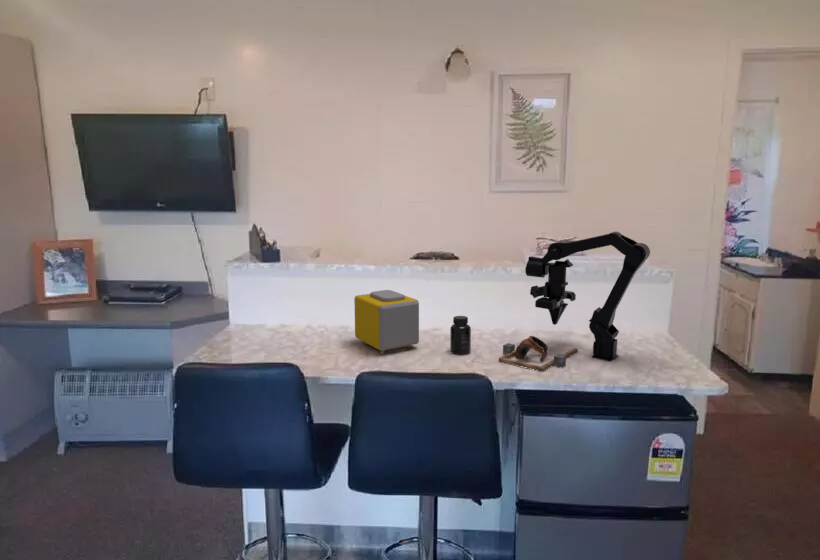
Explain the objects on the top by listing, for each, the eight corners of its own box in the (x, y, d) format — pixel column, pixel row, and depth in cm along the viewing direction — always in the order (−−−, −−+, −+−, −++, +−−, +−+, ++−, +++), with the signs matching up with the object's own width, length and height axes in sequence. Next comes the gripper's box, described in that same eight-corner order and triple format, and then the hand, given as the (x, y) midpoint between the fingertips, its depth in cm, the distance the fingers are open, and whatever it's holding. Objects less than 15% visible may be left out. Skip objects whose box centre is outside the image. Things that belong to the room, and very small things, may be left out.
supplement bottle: (470, 349, 204) (471, 315, 202) (470, 355, 198) (471, 320, 195) (450, 348, 205) (450, 314, 203) (449, 354, 198) (450, 319, 196)
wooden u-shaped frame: (585, 353, 199) (585, 344, 199) (550, 374, 180) (551, 363, 180) (529, 342, 212) (529, 333, 212) (491, 359, 193) (491, 350, 192)
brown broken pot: (522, 353, 202) (535, 333, 199) (542, 371, 196) (556, 351, 194) (503, 352, 193) (517, 332, 190) (523, 371, 187) (537, 350, 185)
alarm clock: (421, 349, 205) (421, 296, 201) (381, 356, 196) (380, 302, 193) (392, 335, 221) (392, 286, 217) (354, 342, 213) (352, 291, 209)
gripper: (547, 272, 212) (545, 315, 215) (521, 280, 198) (520, 325, 201) (577, 276, 205) (574, 320, 208) (552, 284, 191) (550, 331, 194)
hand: (554, 324), depth 203 cm, fingers closed
